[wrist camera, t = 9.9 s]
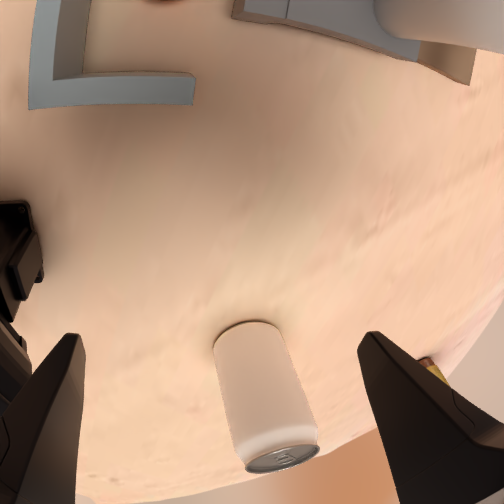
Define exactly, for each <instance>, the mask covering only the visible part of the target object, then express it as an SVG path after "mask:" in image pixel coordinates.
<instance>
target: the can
mask: <svg viewBox="0 0 504 504" xmlns="http://www.w3.org/2000/svg"><path fill="white" fill-rule="evenodd" d="M213 352H214V358H215V364H216V369H217V374H218V379H219V384H220V389H221V393H222V398H223V403H224V407H225V412H226V416H227V421H228V425H229V429H230V434H231V438H232V442H233V446H234V449H235V452H236V454H237V456H238V457H239V458H240V459H241V460H242V461H243V463H244V464H245V470H246V471H247V472H249V473H255V474H262V473H271V472H277V471H281V470H285V469H288V468H291V467H294V466H297V465H299V464H302V463H304V462H306V461H308V460H309V459H311V458H313V457H314V456H315V455H316V454H317V453H318V452H319V450H320V447H319V446H318V445H317V439H318V427H317V424H316V422H315V419H314V416H313V414H312V411H311V409H310V406H309V403H308V401H307V398H306V396H305V393H304V391H303V388H302V386H301V383H300V381H299V378H298V375H297V373H296V370H295V368H294V365H293V363H292V360H291V358H290V355H289V353H288V350H287V348H286V345H285V343H284V340H283V338H282V336H281V334H280V332H279V330H278V329H277V328H275V327H274V326H272V325H270V324H266V323H263V322H244V323H241V324H238V325H235V326H233V327H231V328H230V329H228V330H226V331H225V332H224V333H223V334H222V335H221V336H220V337H219V338H218V339H217V341H216V342H215V345H214V349H213Z"/></svg>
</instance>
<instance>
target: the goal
mask: <svg viewBox="0 0 504 504" xmlns="http://www.w3.org/2000/svg"><path fill="white" fill-rule="evenodd" d="M90 4H91V0H37V4H36V10H35V16H34V24H33V32H32V41H31V52H30V65H29V90H28V110H33V109H42V108H52V107H64V106H79V105H98V104H172V105H193V97H194V89H195V81H196V78H195V77H194V76H193V75H192V74H190V73H178V72H99V73H82V71H83V59H84V49H85V40H86V31H87V24H88V17H89V10H90Z"/></svg>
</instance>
